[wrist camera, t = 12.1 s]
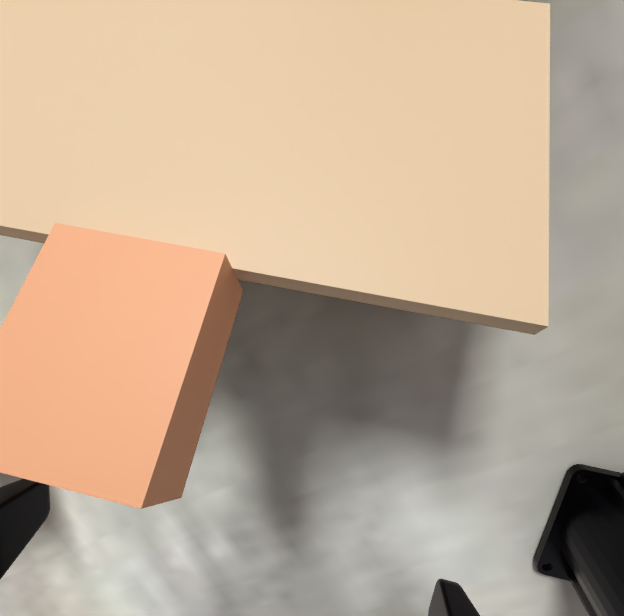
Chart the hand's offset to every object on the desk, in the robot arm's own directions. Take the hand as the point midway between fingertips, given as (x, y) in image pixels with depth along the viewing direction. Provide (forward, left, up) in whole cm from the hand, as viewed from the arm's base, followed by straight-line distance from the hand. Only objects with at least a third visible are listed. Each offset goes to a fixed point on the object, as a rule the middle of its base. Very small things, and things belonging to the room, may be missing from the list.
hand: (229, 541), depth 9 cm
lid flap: (+7, +3, -4) cm, 9 cm away
